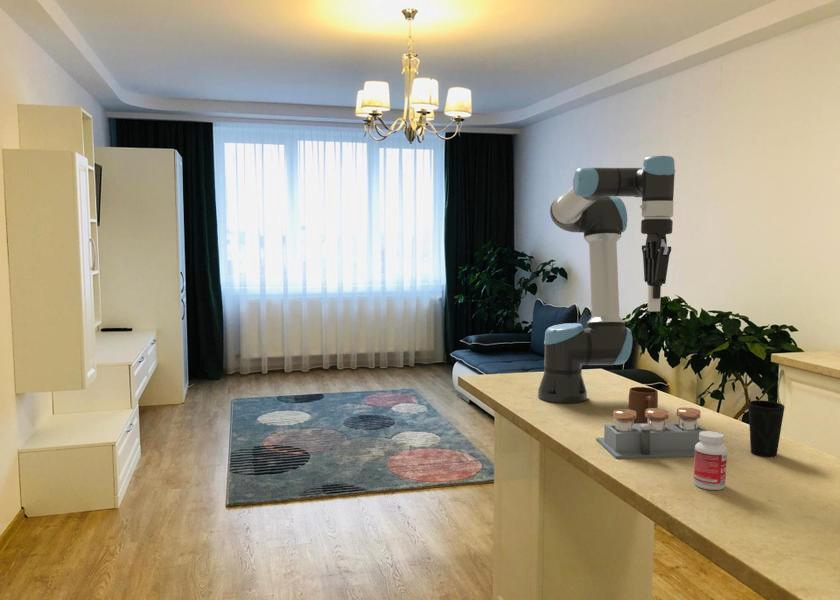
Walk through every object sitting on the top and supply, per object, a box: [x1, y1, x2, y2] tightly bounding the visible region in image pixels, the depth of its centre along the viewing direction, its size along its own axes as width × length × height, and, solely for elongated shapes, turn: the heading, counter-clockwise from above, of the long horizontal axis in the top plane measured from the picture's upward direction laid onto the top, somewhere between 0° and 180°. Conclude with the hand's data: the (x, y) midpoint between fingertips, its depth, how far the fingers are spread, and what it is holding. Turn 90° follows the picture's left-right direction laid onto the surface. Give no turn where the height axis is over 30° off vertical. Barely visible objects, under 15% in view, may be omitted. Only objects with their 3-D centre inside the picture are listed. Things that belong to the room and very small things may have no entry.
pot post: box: [640, 424, 652, 455], centre depth 162 cm, size 3×3×7 cm
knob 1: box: [612, 408, 636, 432], centre depth 168 cm, size 5×5×8 cm
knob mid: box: [645, 408, 670, 431], centre depth 168 cm, size 5×5×8 cm
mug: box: [627, 386, 659, 424], centre depth 187 cm, size 12×8×9 cm, turn 179°
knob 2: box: [676, 406, 702, 430], centre depth 169 cm, size 5×5×8 cm
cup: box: [747, 399, 785, 458], centre depth 164 cm, size 8×8×12 cm
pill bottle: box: [693, 430, 728, 491], centre depth 143 cm, size 6×6×11 cm
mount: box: [595, 422, 709, 459], centre depth 168 cm, size 14×25×5 cm, turn 94°
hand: (653, 310), depth 176 cm, fingers closed
